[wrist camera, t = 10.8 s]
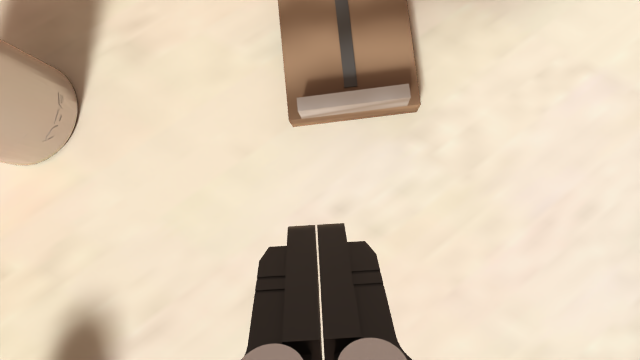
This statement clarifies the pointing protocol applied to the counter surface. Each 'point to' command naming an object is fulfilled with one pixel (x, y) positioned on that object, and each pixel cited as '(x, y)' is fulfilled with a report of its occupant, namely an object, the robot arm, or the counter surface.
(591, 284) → the counter surface
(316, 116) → the fader console
